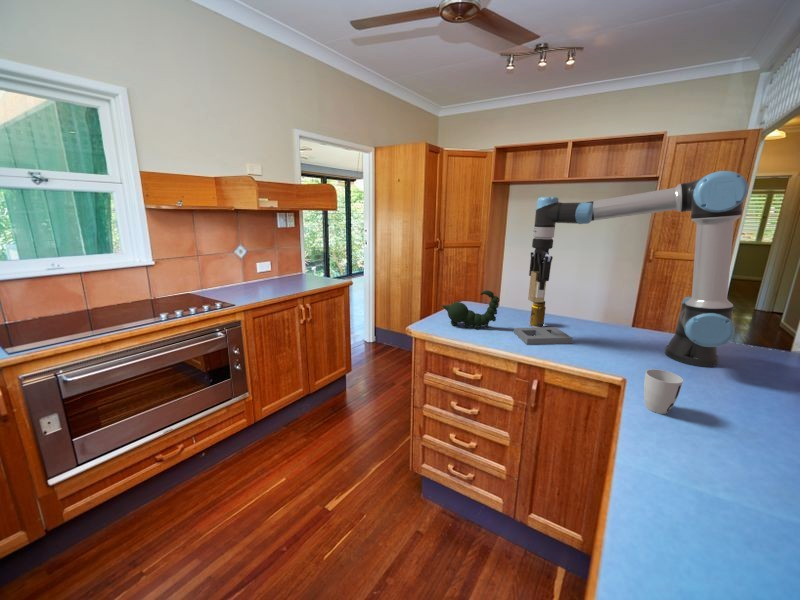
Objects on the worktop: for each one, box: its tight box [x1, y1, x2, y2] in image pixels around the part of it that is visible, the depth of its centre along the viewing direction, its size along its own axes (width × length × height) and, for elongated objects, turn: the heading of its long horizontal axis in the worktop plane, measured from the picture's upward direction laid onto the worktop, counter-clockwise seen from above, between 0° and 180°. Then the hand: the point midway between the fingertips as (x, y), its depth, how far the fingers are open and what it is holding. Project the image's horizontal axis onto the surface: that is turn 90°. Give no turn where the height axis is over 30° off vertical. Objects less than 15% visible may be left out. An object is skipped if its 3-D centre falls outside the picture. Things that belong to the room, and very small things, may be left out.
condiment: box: [529, 300, 551, 328], centre depth 162 cm, size 7×8×12 cm
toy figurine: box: [441, 289, 500, 330], centre depth 158 cm, size 9×19×25 cm
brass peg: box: [527, 271, 547, 303], centre depth 141 cm, size 4×4×12 cm
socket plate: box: [513, 326, 573, 345], centre depth 147 cm, size 13×19×2 cm
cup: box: [643, 368, 684, 415], centre depth 94 cm, size 8×8×10 cm
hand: (536, 295), depth 142 cm, fingers closed on brass peg, 4 cm apart
